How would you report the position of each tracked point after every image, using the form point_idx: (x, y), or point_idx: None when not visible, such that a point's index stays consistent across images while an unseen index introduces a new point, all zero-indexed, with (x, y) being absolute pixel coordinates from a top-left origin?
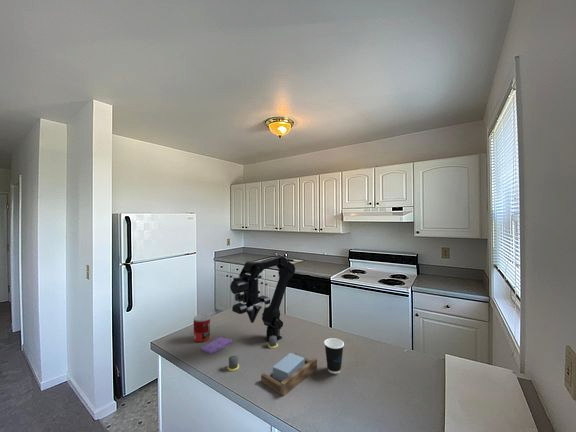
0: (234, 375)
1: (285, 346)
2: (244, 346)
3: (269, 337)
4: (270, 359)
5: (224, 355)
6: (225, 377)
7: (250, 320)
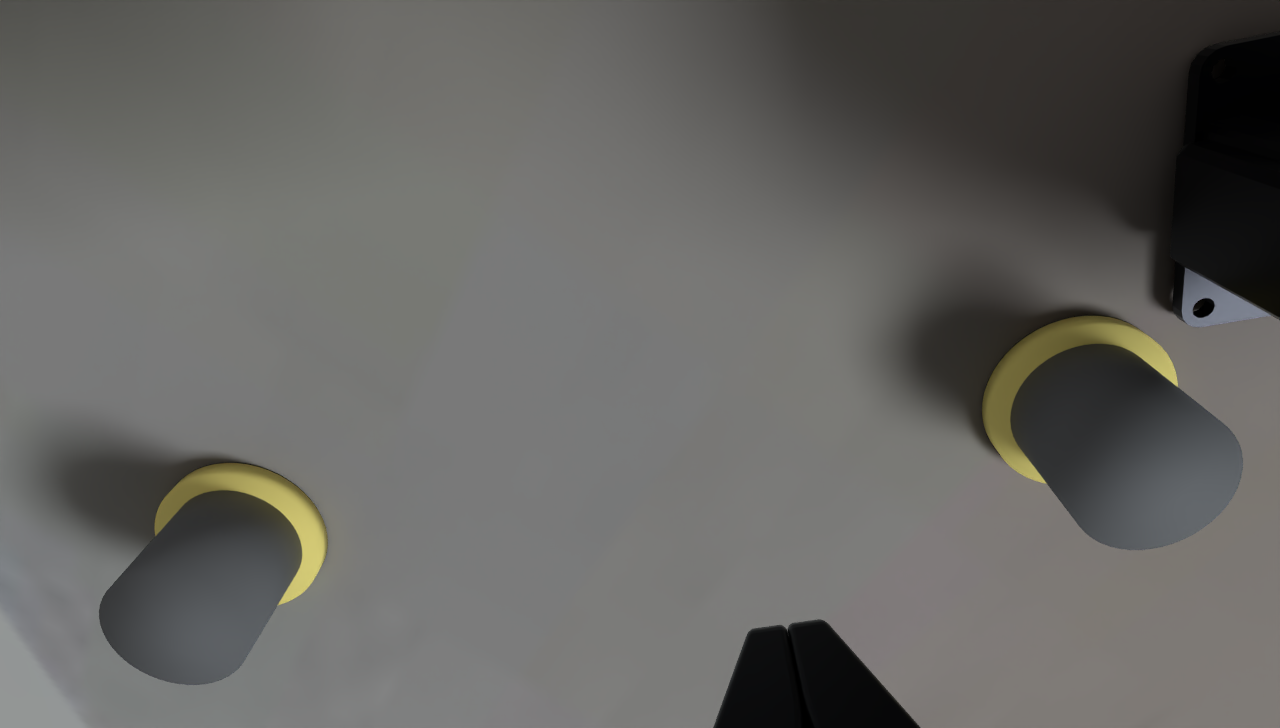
0: None
1: None
2: (653, 77)
3: (1104, 445)
4: None
5: (193, 143)
6: None
7: (728, 715)
